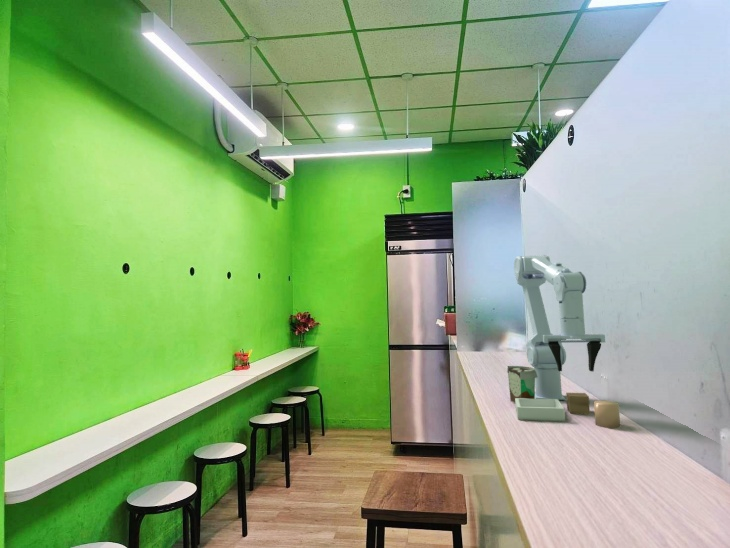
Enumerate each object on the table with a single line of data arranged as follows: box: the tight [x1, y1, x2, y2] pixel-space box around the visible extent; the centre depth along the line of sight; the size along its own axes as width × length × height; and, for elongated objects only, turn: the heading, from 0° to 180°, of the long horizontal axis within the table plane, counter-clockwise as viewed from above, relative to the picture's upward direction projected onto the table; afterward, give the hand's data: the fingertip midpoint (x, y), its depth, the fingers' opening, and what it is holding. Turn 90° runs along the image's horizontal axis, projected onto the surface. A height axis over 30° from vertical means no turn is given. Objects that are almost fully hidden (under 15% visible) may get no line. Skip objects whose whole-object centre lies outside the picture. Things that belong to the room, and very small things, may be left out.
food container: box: [506, 365, 537, 405], centre depth 123 cm, size 12×6×10 cm, turn 179°
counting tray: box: [514, 398, 566, 422], centre depth 110 cm, size 11×11×3 cm
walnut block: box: [565, 392, 591, 415], centre depth 112 cm, size 4×4×4 cm
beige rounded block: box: [593, 400, 621, 429], centre depth 100 cm, size 5×5×5 cm
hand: (575, 370), depth 113 cm, fingers open, 7 cm apart
